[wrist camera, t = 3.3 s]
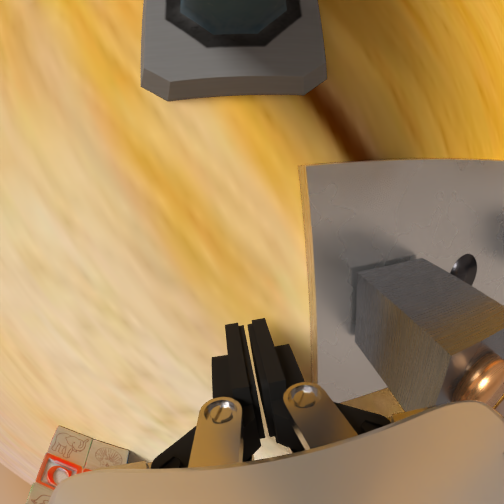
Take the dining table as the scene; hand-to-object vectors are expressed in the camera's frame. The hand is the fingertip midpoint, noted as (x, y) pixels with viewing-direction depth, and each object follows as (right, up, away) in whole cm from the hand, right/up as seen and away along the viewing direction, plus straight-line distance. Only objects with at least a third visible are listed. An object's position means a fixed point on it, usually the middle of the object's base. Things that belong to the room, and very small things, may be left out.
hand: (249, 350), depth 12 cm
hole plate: (+15, +3, +4) cm, 16 cm away
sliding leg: (+7, +2, +2) cm, 8 cm away
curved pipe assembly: (-2, +28, -5) cm, 28 cm away
